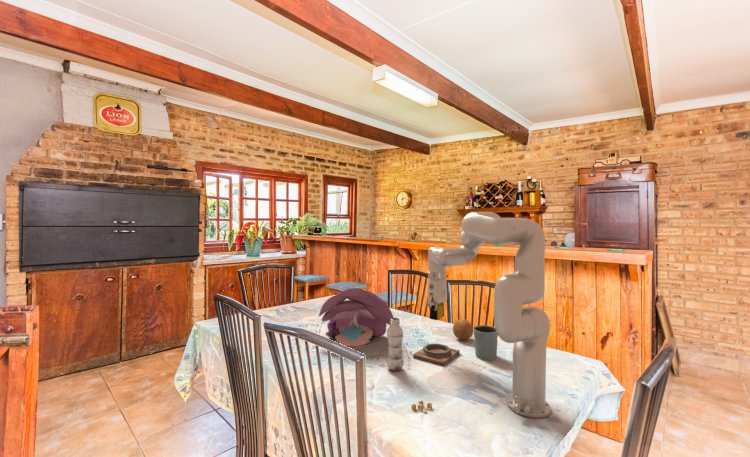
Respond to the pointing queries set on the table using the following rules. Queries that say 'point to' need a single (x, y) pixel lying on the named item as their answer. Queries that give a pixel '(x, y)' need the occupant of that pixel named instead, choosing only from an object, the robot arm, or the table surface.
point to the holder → (436, 354)
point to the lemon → (439, 311)
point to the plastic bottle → (395, 345)
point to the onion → (463, 329)
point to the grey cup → (485, 342)
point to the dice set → (429, 405)
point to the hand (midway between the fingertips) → (437, 317)
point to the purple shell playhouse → (355, 316)
